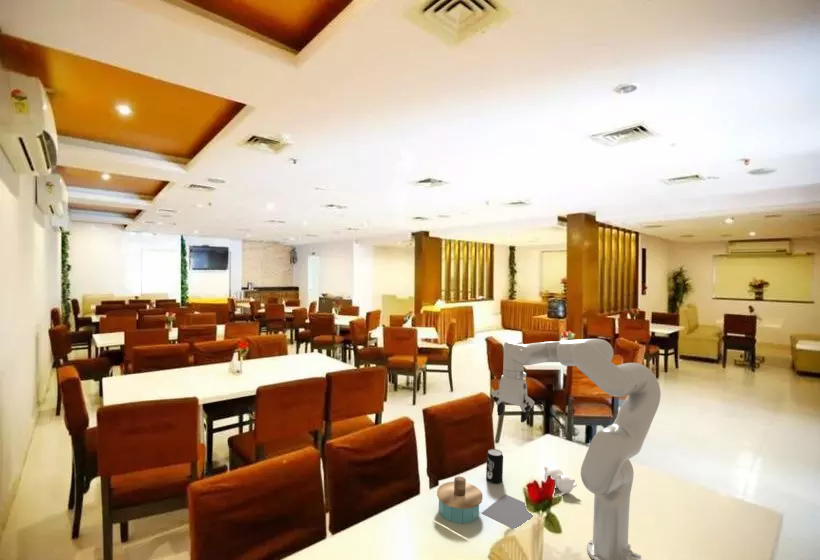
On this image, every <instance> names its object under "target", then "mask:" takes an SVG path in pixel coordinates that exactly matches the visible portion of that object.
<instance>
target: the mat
mask: <svg viewBox="0 0 820 560" xmlns="http://www.w3.org/2000/svg"><path fill="white" fill-rule="evenodd" d="M525 503H526V502H524V501H521V500H520V499H517V498H516V497H513V496H511V495H508V494H506V493H504V494H503V495H502V496H500V498H498V499H497V500H496V501H495V502H493V503H492V504H491V505H489V506H488V507H487V508H486V509H485V510H482V512H481V514H482V515H484V516H486V517H488V518H490V519H493V520H494V521H496V522H498V523H500V524H503V525H505V526H506V527H508V528H511V529H512V528H517V527H519V526H521V525H522V524H523V523H525V522H526V521H527V520H530V519H531V518H532V517H533V515H532V514H531V513H529V512H528V511H527V509H526V506H525Z"/></svg>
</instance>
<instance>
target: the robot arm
mask: <svg viewBox="0 0 820 560" xmlns="http://www.w3.org/2000/svg"><path fill="white" fill-rule="evenodd" d="M613 357H614V348H613V347H612V345H611V343H609V342H608V341H607V340H605V339H601V338H584V339H567V340H563V339H562V340H559V341H544V342H542V341H540V342H532V343H525V344H524V343H523V342H522V341H520V340H506V341H505V342H504V344H503V358H502V359H503V361H502V363H503V365H502V366H503V369H502V375H501V377H500V381H499V387H498V389H496V390H493V391H491V394H492V397H493V400H494V401H495V405H497V406H496V409H497V410H496V412H497V416H502V415H504V403H507V404H511V405H514V406H518V407H519V408H520V409H521V412H520V422H521V423H524V422H525V423H526V421H527V419H528V411H530V410H531V409H532V408H533V406H534V404H535V401H534V400H533V399H532V397H529V396H528V388H527V387H528V386H527V385H528V384H527V380H526V377H527V372H525V369H524V367H525V366H532V365H537V364H538V365H539V364H542V363H560V364H561V365H562V366H565V367H576V368H577V369H579V370H580V372H582V373H583V375H585V376H586V377H588V379H589V380H591V381H592V382H593V383H594V384H595V385H596V386H597V387H598V388H599V389H600V390H602V391H603V392H605V393H606V394H608V395H609V396H612V397H616V398H623V397H626V398H625V399H624V401H623V403H622V404H621V406H620V407H619V410H618V413H617V416H616V418H615V420H614V421H613V423H611V424H610V425H609V426H607V427H604V428H601V429H600V430H598V431H597V432H596V433H595V434H594V435H593V437H592V439H591V441H590V443H589V446H588V449H587V451H586V453H585V455H584V459H583V461H582V464H581V467H580V478H581V481H582V484H583V486H584V487H585V489H586V490H587V491H589V492H591V493H592V494H593V495H594V497H593V498H594V500H593V520H592V521H593V522H592V523H593V524H592V539H591V540H590V541H588V542H587V545H586V550H587V551H586V552H587V554H588V556H589V557H590V558H591V559H592V560H593V559H594V560H642V555H641V554H639V553H637V552H636V553H635V552H633V550H631V546H632V545H631V544H630V543H629V520H630V504H631V503H630V502H631V492H632V487H633V482H634V467H633V464H632V462H631V460H630V459H631V458H634V457H636V455H638V454H639V453H640V452H641V449H642V447H643V444H644V442H645V439H646V437H647V435H648V433H649V430H650V428H651V426H652V425H651V424H652V423H653V421H654V418H655V415H656V413H657V412H658V408H659V407H660V402H661V387H660V383H659V382H658V379H657V377H656V375H655V374H654V372H653V371H652V370H650V368H649V367H647V366H646V365H644V364H641V363H638V362H626V363H622V364H617V365H616V364H615V363H613V362H612V360H613ZM527 403H528V405H527Z"/></svg>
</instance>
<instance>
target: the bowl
mask: <svg viewBox="0 0 820 560" xmlns="http://www.w3.org/2000/svg"><path fill="white" fill-rule="evenodd" d="M438 512H439V514H440V515H441V517H442V518H443V519H445V520H447V521H449V522H450V523H454V524H455V523H457V524H462V525H463V524H468V523H473V522H474V521H475V520H477V519H478V518H479V516H480V515H479V514H480V504H479V505H478V506H476V507H473V508H468V509H459V508H453V507H450V506H448V505H446V504H444V503H442V502H441V501H440V500H439V499H438Z"/></svg>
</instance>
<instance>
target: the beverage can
mask: <svg viewBox="0 0 820 560" xmlns="http://www.w3.org/2000/svg"><path fill="white" fill-rule="evenodd" d="M485 470H486V472H485V474H486V475H485V479H486V480H487V482H488V483H491V484H493V485H497V484H501V483H502V482H503V477H504V475H503V473H504V472H503V471H504V455H503V452H502V450H500V449H497V448H496V449H495V448H491V449H488V451H487V454H486V469H485Z"/></svg>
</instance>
